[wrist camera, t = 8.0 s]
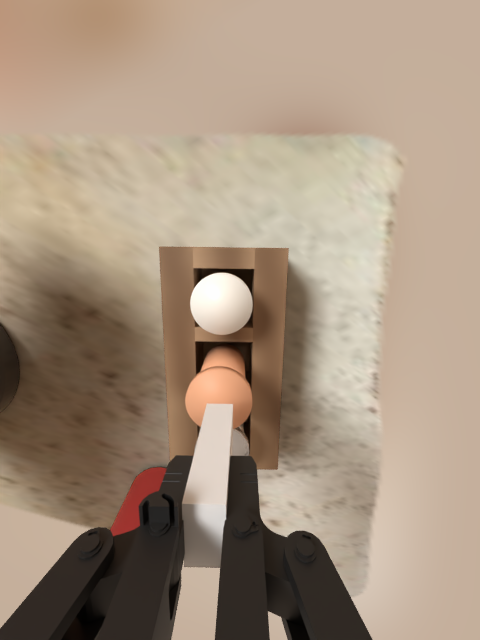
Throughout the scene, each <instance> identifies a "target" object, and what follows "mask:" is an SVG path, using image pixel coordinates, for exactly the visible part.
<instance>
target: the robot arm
mask: <svg viewBox="0 0 480 640" xmlns="http://www.w3.org/2000/svg"><path fill="white" fill-rule="evenodd" d="M18 382H19V364H18V359H17V355H16V352H15V349H14V346H13V344H12V342H11V340H10V338H9V337H8V335H7V333H6V332H5V331H4V329H3V328H2V327H1V325H0V412H1V411H3V410H4V409H5V408H6V407H7V406H8V404H9V403H10V402H11V400H12V399H13V397H14V395H15V392H16V390H17V386H18ZM232 448H233V404H207V405H206V409H205V413H204V417H203V421H202V425H201V429H200V433H199V437H198V441H197V445H196V449H195V453H194V456H189V455H176V456H175V457H174V458H173V459H172V460H171V461H170V462H169V464H168V467H167V469H166V472H165V475H164V478H163V481H162V483H161V486H160V489H159V491H156V492H154V493H151V494H149V495H148V496H147V497H145V498H144V499H143V500H142V501H141V503H140V505H139V506H138V507H139V519H140V526H139V527H137V528H135V529H134V530H131V531H128V532H125V533H122V534H118V535H115V536H113V535H112V532H111V531H110V530H108V529H107V528H101V527H98V528H94V529H90V530H88V531H87V532H85V533H83V534H81V535H80V536H79V537H78V538H77V539H76V540H75V541H74V542H73V543H72V544H71V545H70V547H69V548H68V549H67V550H66V551H65V553H64V554H63V555H62V556H61V557H60V558H59V560H58V561H57V562H56V563H55V564H54V566H53V567H52V568H51V569H50V570H49V571H48V573H47V574H46V575H45V576H44V577H43V579H42V580H41V581H40V582H39V584H38V585H37V586H36V587H35V588H34V590H33V591H32V592H31V593H30V594H29V595H28V596H27V598H26V599H25V600H24V601H23V602H22V604H21V605H20V606H19V607H18V608H17V609H16V611H15V612H14V613H13V614H12V615H11V617H10V618H9V619H8V620H7V621H6V623H5V624H4V625H3V626H2V627H1V628H0V640H171V636H172V632H173V626H174V621H175V615H176V610H177V604H178V600H179V594H180V589H181V570H182V565H183V560H184V567H212V568H213V567H214V568H220V579H219V593H218V606H217V619H216V632H215V640H270V639H269V624H268V611H269V612H272V613H274V614H276V615H278V616H281V618H282V621H283V625H284V628H285V632H286V635H287V638H288V640H372V638H371V636H370V634H369V632H368V630H367V628H366V626H365V624H364V622H363V621H362V619H361V617H360V615H359V613H358V611H357V609H356V607H355V605H354V603H353V601H352V599H351V597H350V595H349V593H348V591H347V590H346V588H345V586H344V584H343V582H342V580H341V578H340V576H339V574H338V572H337V570H336V568H335V566H334V564H333V562H332V560H331V559H330V557H329V555H328V553H327V551H326V549H325V547H324V545H323V544H322V543H321V541H320V540H319V539H318V538H317V537H316V536H314V535H313V534H312V533H309V532H306V531H295V532H293V533H291V534H290V535H289V536H288V537H284V536H281V535H278V534H276V533H274V532H272V531H271V530H269V529H268V528H267V527H266V526H265V525H264V523H263V522H262V519H261V517H260V509H259V494H258V479H257V464H256V463H255V461H254V459H253V458H252V456H232Z"/></svg>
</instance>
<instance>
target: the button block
mask: <svg viewBox="0 0 480 640" xmlns="http://www.w3.org/2000/svg"><path fill="white" fill-rule="evenodd" d="M288 250H289V248H224V247H159V254H160V274H161V293H162V313H163V332H164V352H165V372H166V391H167V411H168V430H169V450H170V461H171V460H172V459H173V458H174V457H175V456H176V455H189V456H194V449H195V445H196V440H197V437H198V435H199V433H200V429H201V427H200V426H198V425H197V424H196V423H195V422H194V421H193V420H192V419H191V418H190V416H189V414H188V412H187V409H186V405H185V397H186V393H187V390H188V387H189V385H190V383H191V381H192V380H193V378H194V377H195V376H196V375H197V374H198V373H199V372H201V369H202V366H203V363H204V360H205V357H206V355H207V353H208V352H209V351H210V350H211V349H212V348H213V347H215V346H217V345H221V344H228V345H232V346H234V347H236V348H237V349H238V350H240V352H241V353H242V355H243V357H244V360H245V378H246V380H247V381H248V383H249V385H250V388H251V392H252V409H251V412H250V415H249V416H248V418H247V419H246V421H245V422H244V433H245V434H246V436H247V438H248V442H249V456H252V458H253V459H254V461H255V463H256V464H257V469H278V449H279V429H280V409H281V389H282V369H283V349H284V329H285V310H286V290H287V270H288ZM214 273H229V274H232V275H235V276H237V277H238V278H240V279H241V280H242V281H243V282H244V283H245V284H246V285H247V287H248V288H249V290H250V293H251V296H252V301H253V308H252V313H251V316H250V318H249V320H248V321H247V323H246V324H245V325H244V326H243V327H242V328H241V329H239V330H238V331H236V332H234V333H231V334H227V335H217V334H213V333H210V332H208V331H206V330H204V329H203V328H202V327H200V326H199V325H198V323H197V322H196V321H195V319H194V317H193V315H192V312H191V307H190V300H191V295H192V292H193V290H194V288H195V287H196V285H197V284H198V283H199V282H200V281H201V280H202V279H204V278H205V277H207V276H209V275H211V274H214Z"/></svg>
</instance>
